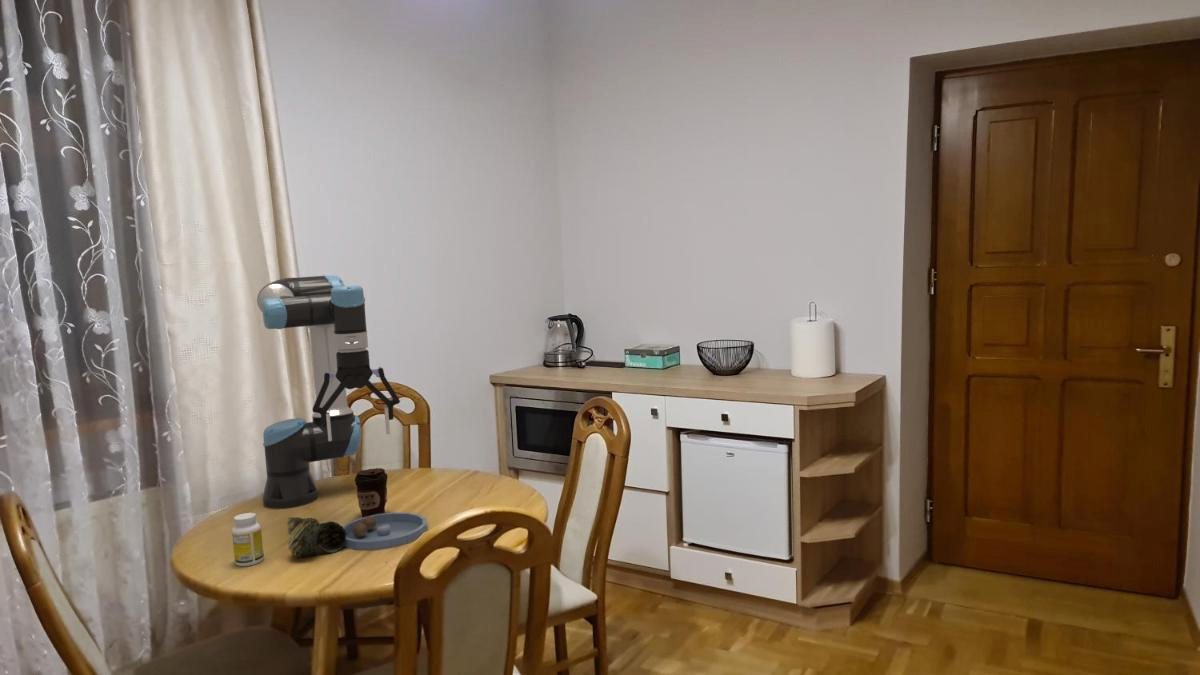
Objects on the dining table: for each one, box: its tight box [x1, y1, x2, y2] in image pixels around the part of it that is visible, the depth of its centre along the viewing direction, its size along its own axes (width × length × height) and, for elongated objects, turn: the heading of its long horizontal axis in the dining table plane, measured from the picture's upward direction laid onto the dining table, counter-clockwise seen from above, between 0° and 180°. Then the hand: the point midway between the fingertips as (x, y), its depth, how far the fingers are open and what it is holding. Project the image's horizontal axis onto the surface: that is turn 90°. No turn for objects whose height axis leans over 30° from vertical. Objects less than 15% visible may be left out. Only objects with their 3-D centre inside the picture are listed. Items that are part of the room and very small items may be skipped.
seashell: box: [286, 516, 346, 559], centre depth 185 cm, size 11×11×10 cm
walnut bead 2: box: [362, 517, 376, 531], centre depth 200 cm, size 4×4×4 cm
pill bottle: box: [231, 512, 265, 567], centre depth 184 cm, size 6×6×11 cm
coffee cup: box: [354, 467, 388, 518], centre depth 211 cm, size 9×8×13 cm
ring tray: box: [342, 511, 428, 551], centre depth 197 cm, size 21×21×3 cm
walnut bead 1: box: [353, 523, 367, 538], centre depth 195 cm, size 4×4×4 cm
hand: (359, 436), depth 194 cm, fingers open, 13 cm apart
